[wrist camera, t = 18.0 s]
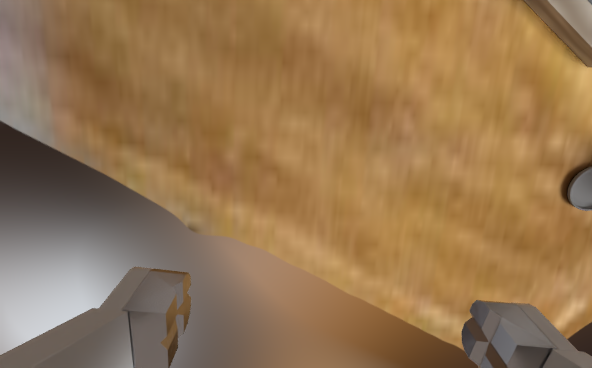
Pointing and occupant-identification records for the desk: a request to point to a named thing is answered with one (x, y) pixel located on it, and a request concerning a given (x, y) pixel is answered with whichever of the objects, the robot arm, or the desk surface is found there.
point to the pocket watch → (581, 190)
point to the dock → (569, 23)
